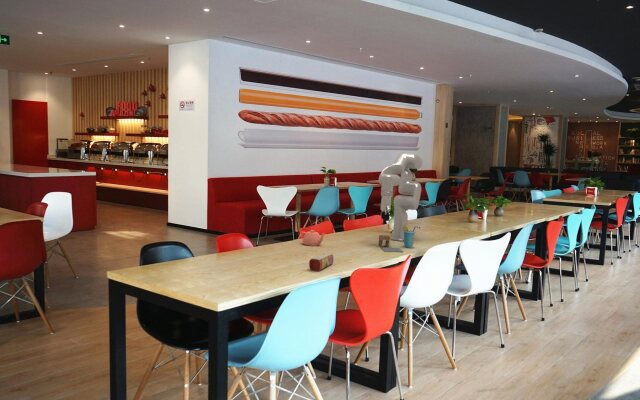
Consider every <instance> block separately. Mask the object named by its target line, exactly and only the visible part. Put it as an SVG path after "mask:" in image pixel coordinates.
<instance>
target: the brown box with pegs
mask: <svg viewBox="0 0 640 400" xmlns="http://www.w3.org/2000/svg"><path fill="white" fill-rule="evenodd" d="M390 240H391V237H390V235H388V234H379V235H378V246H379V247H380V248H381V247H383V241H385V242H384V243H385V245H384V246H385V247H386V248H390Z"/></svg>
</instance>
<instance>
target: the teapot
mask: <svg viewBox="0 0 640 400" xmlns="http://www.w3.org/2000/svg"><path fill="white" fill-rule="evenodd" d="M300 235H301V238H302V244H303V246H308V247H318V246H320V245H321V243H322V242H323V240H324V237H325V235H326V232H323V233H322V234H321V236H320V233H319V232H317V231H315V229H311V230H310V231H307V232H306V231H301V233H300Z"/></svg>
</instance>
